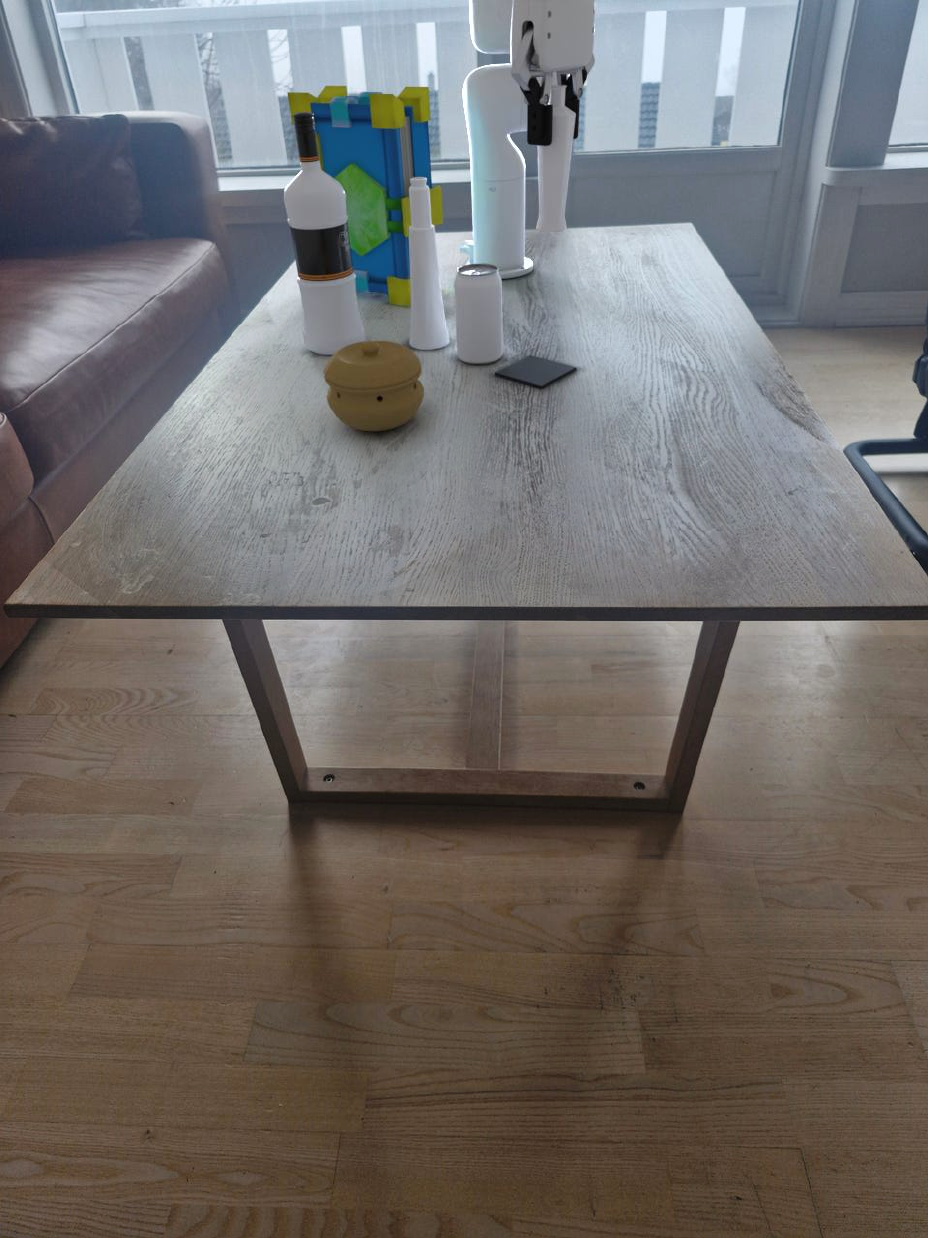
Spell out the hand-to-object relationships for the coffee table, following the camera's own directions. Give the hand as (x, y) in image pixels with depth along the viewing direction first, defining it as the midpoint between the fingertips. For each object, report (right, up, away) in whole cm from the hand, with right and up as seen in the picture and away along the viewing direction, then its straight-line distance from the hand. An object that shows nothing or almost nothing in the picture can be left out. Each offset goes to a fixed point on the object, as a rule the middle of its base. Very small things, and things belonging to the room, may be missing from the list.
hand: (552, 139), depth 94 cm
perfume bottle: (0, -8, +6) cm, 10 cm away
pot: (-21, -33, +4) cm, 39 cm away
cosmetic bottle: (-16, -15, +26) cm, 34 cm away
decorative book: (-26, +2, +48) cm, 54 cm away
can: (-8, -19, +20) cm, 29 cm away
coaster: (-1, -23, +15) cm, 27 cm away
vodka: (-30, -16, +26) cm, 43 cm away
